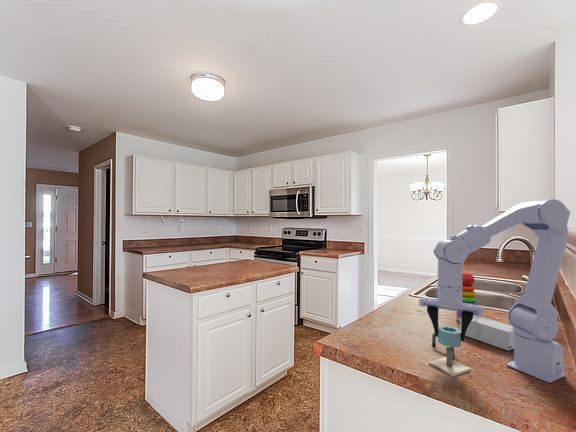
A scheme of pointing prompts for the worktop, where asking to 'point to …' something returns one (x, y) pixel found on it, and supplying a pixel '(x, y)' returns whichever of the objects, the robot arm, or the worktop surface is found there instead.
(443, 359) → the peg stand
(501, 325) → the skincare box
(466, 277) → the stacking toy
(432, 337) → the handle
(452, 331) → the ring
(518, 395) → the worktop surface
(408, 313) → the worktop surface
